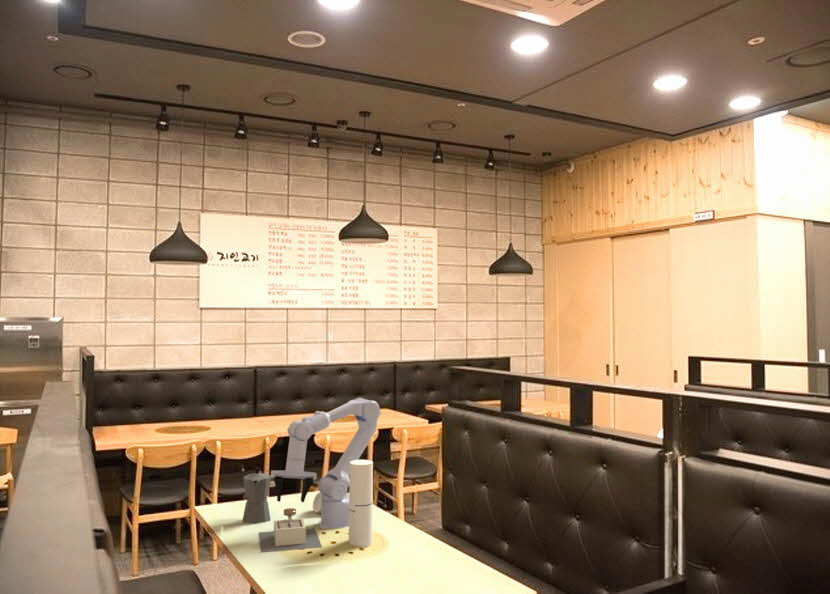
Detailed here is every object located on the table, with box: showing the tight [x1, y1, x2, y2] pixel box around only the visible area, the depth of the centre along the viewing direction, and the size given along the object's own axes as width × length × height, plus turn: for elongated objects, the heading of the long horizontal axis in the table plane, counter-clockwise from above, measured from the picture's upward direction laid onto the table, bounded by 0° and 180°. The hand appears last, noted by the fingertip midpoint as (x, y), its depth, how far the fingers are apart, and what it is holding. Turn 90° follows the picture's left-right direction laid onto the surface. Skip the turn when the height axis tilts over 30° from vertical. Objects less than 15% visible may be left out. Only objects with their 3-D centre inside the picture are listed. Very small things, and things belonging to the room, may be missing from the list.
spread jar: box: [312, 485, 350, 514], centre depth 233 cm, size 12×11×12 cm
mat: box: [258, 527, 323, 554], centre depth 201 cm, size 18×18×1 cm
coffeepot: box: [242, 467, 272, 524], centre depth 222 cm, size 15×9×18 cm, turn 8°
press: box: [273, 518, 307, 546], centre depth 201 cm, size 9×9×5 cm
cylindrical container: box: [348, 459, 374, 548], centre depth 200 cm, size 7×7×25 cm
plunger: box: [278, 507, 301, 529], centre depth 201 cm, size 6×6×5 cm
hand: (290, 501), depth 208 cm, fingers open, 7 cm apart
